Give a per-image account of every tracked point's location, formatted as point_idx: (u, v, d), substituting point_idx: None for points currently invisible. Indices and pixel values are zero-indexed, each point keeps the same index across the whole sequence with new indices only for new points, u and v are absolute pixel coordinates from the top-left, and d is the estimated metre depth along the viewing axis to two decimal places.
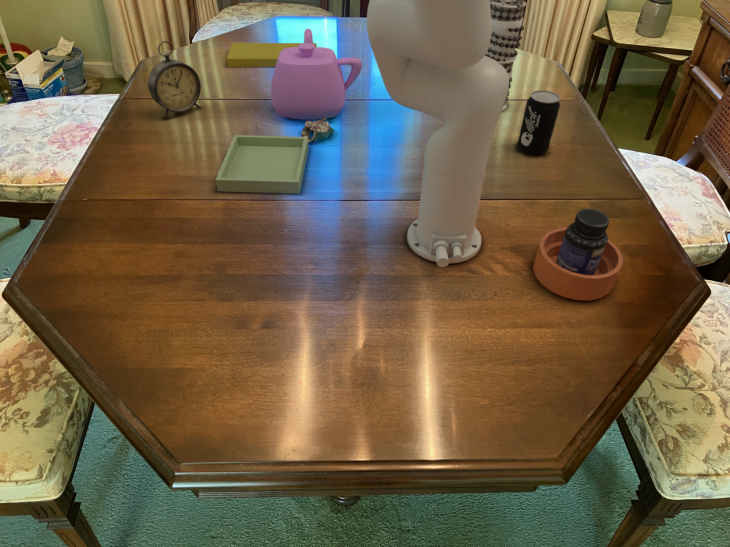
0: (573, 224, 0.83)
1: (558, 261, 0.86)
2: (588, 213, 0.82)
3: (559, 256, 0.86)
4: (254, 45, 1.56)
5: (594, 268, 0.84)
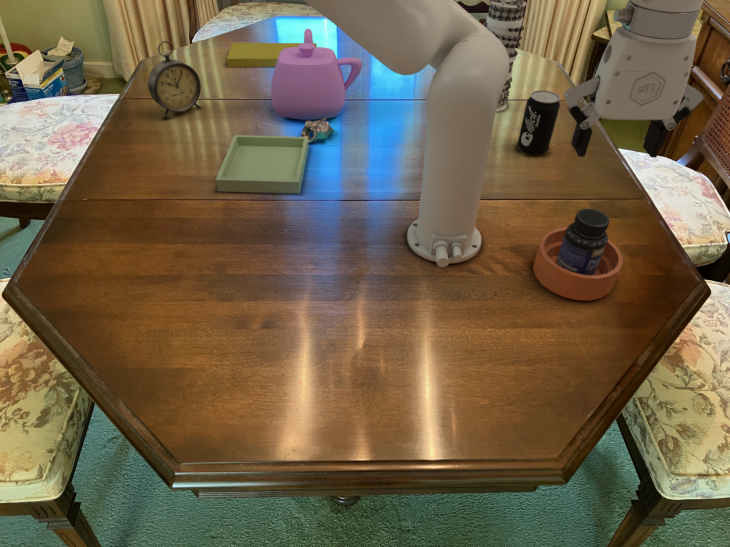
0: (573, 224, 0.83)
1: (558, 261, 0.86)
2: (588, 213, 0.82)
3: (559, 256, 0.86)
4: (254, 45, 1.56)
5: (594, 268, 0.84)
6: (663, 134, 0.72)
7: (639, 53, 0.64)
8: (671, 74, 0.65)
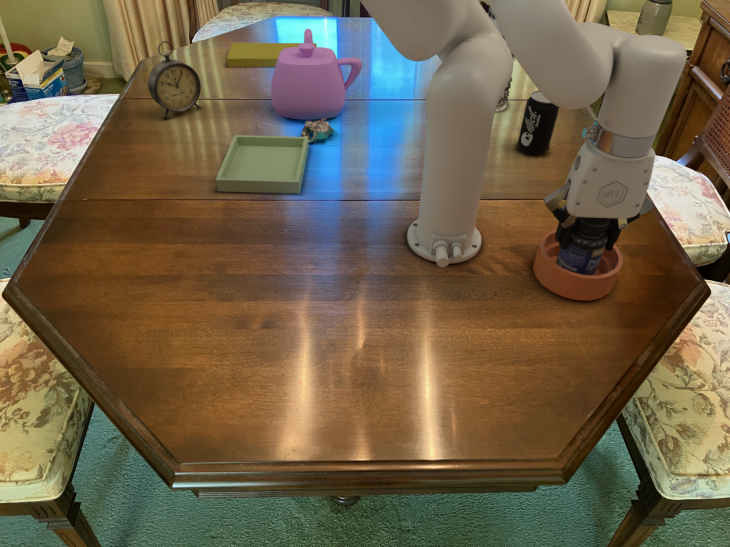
0: (573, 224, 0.83)
1: (558, 261, 0.86)
2: None
3: (559, 256, 0.86)
4: (254, 45, 1.56)
5: (594, 268, 0.84)
6: (616, 233, 0.81)
7: (604, 166, 0.72)
8: (633, 183, 0.74)
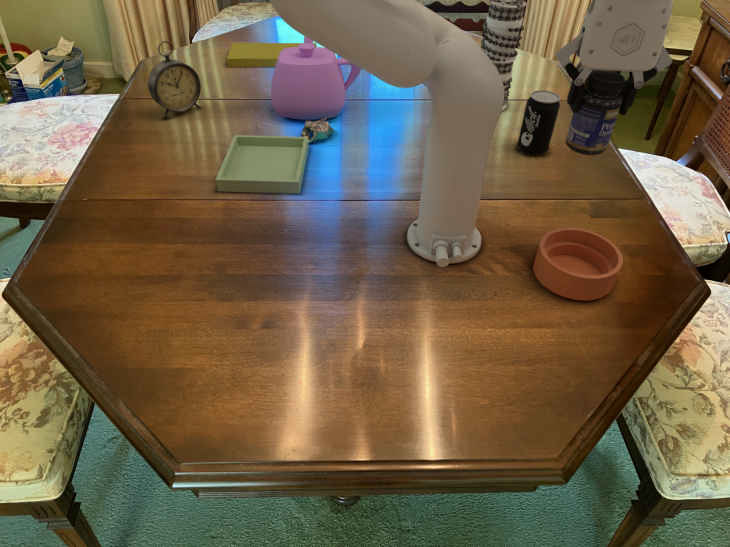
0: (586, 87, 0.80)
1: (569, 131, 0.83)
2: (602, 73, 0.78)
3: (571, 124, 0.82)
4: (254, 45, 1.56)
5: (607, 135, 0.81)
6: (631, 92, 0.77)
7: (620, 4, 0.69)
8: (650, 26, 0.70)
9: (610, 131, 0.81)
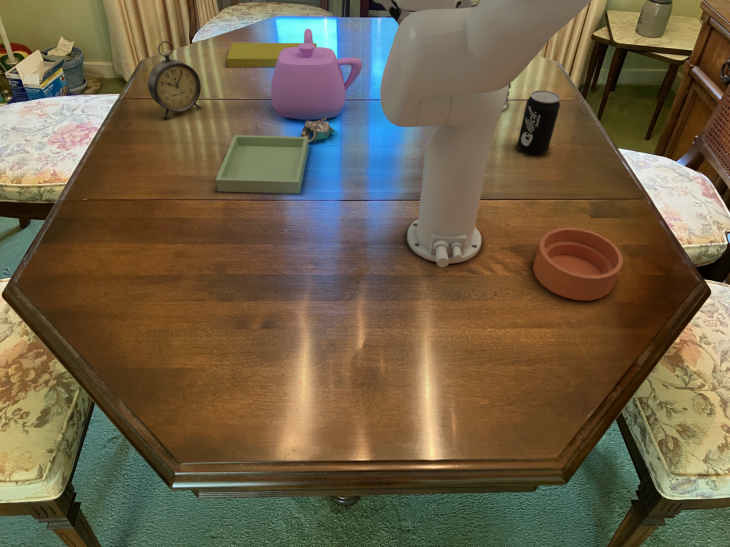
0: None
1: None
2: None
3: None
4: (254, 45, 1.56)
5: None
6: None
7: None
8: None
9: None
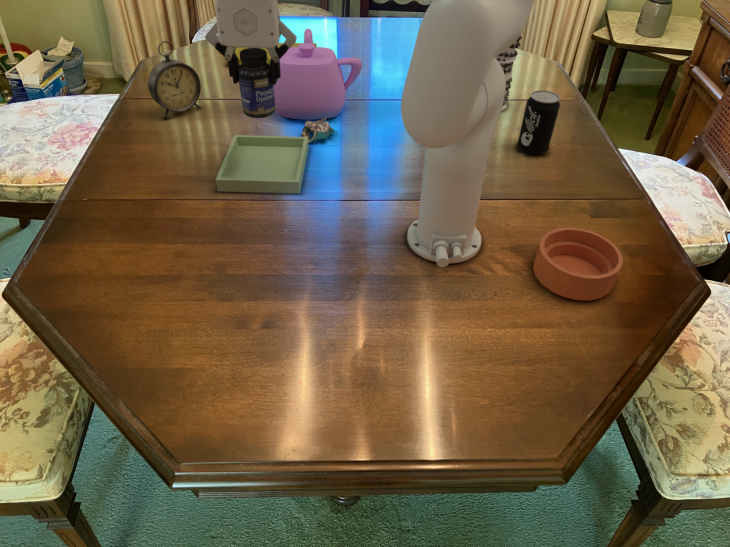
0: None
1: None
2: (251, 50, 0.97)
3: None
4: None
5: (265, 101, 0.99)
6: (272, 65, 0.96)
7: None
8: (258, 11, 0.89)
9: (267, 97, 0.99)
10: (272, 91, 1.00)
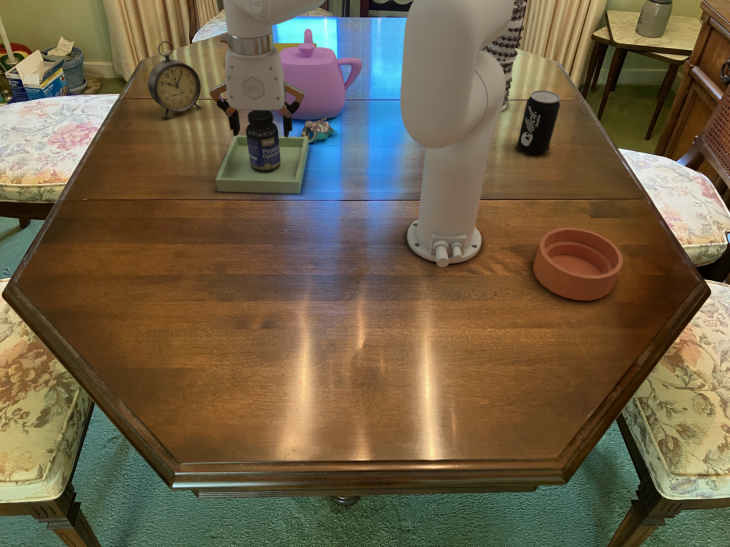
0: None
1: None
2: (259, 111, 1.04)
3: None
4: None
5: (271, 157, 1.07)
6: (284, 120, 1.02)
7: (237, 64, 0.94)
8: (265, 78, 0.96)
9: (273, 154, 1.07)
10: (278, 148, 1.07)
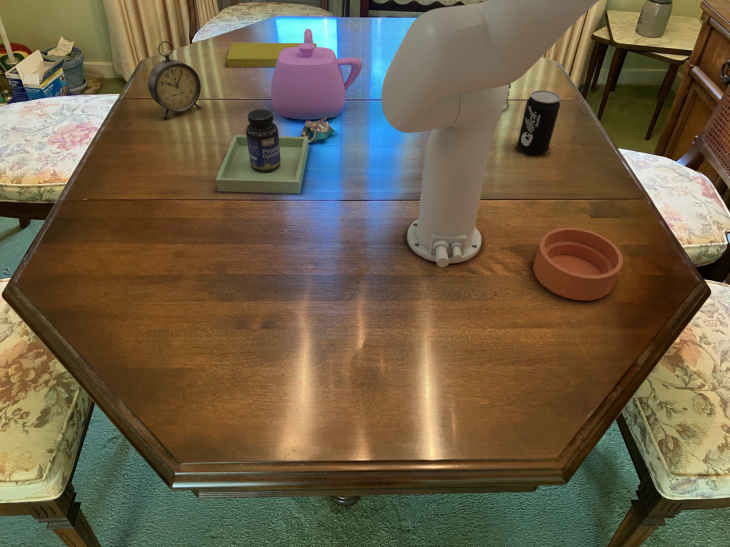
0: None
1: None
2: (259, 111, 1.04)
3: None
4: (254, 45, 1.56)
5: (271, 157, 1.07)
6: None
7: None
8: None
9: (273, 154, 1.07)
10: (278, 148, 1.07)
